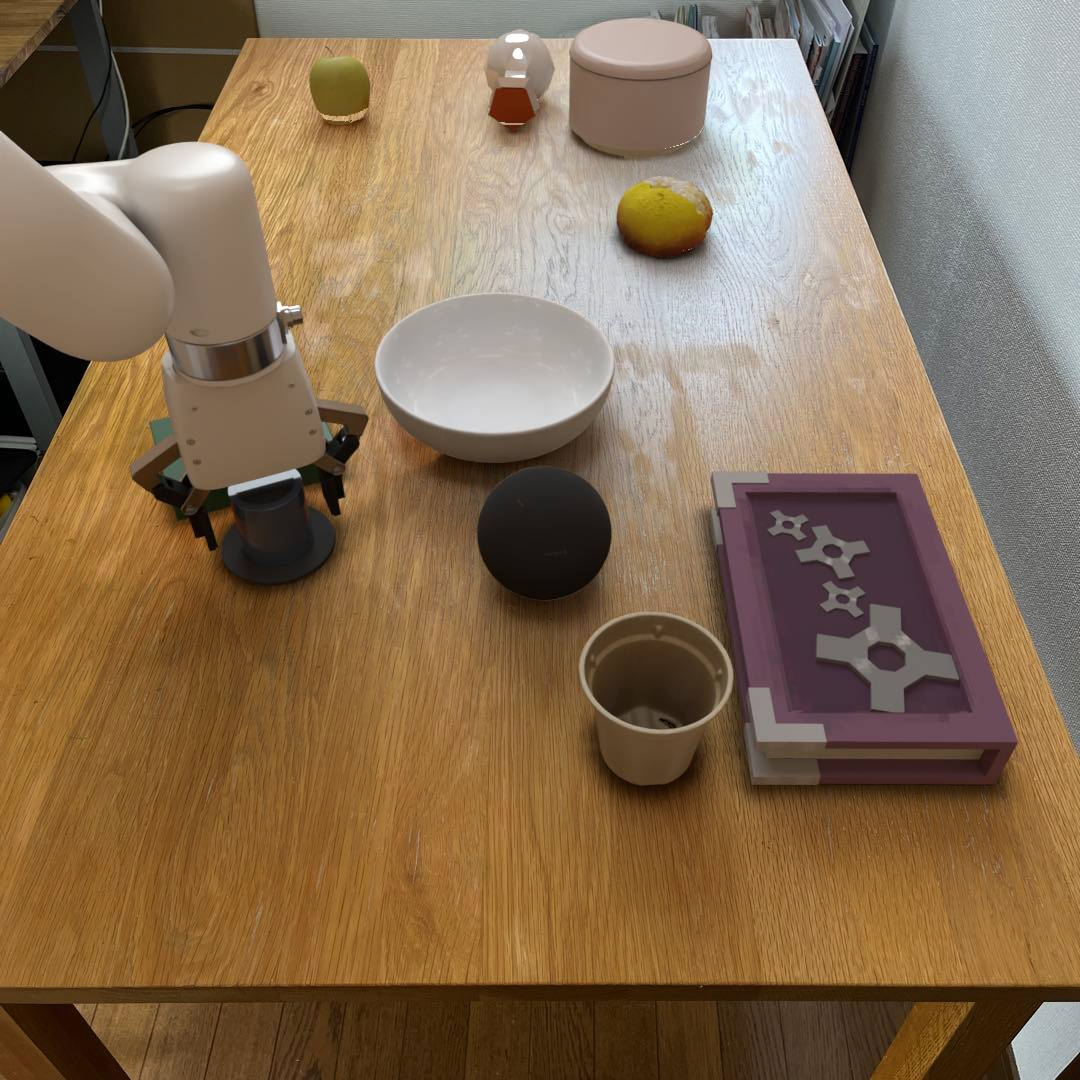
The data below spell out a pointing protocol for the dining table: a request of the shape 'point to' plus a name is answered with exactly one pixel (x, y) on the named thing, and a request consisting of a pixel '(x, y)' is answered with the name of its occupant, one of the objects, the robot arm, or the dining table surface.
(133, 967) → the dining table surface
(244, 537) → the tumbler
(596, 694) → the flower pot
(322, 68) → the apple
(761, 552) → the book
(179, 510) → the green base stand
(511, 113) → the potion bottle
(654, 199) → the fruit
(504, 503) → the speaker
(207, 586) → the dining table surface
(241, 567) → the coaster
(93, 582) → the dining table surface
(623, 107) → the container
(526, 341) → the serving bowl
